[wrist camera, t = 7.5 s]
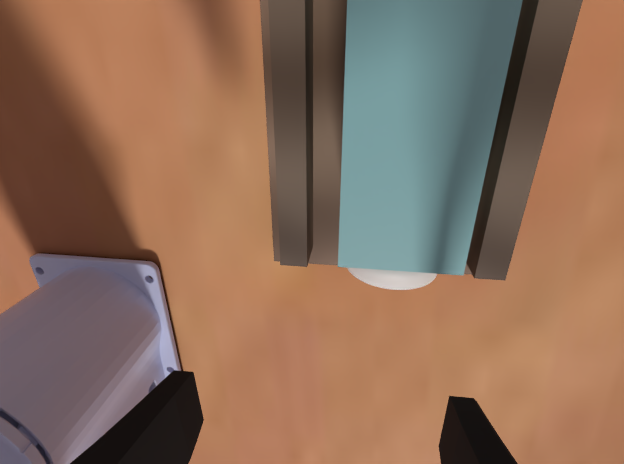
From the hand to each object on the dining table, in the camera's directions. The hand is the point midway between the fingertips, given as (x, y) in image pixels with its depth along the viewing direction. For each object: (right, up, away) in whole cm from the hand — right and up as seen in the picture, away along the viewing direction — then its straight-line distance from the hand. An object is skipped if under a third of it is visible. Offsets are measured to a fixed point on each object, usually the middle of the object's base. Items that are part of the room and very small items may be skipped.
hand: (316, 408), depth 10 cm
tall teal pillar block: (+3, +11, +4) cm, 12 cm away
